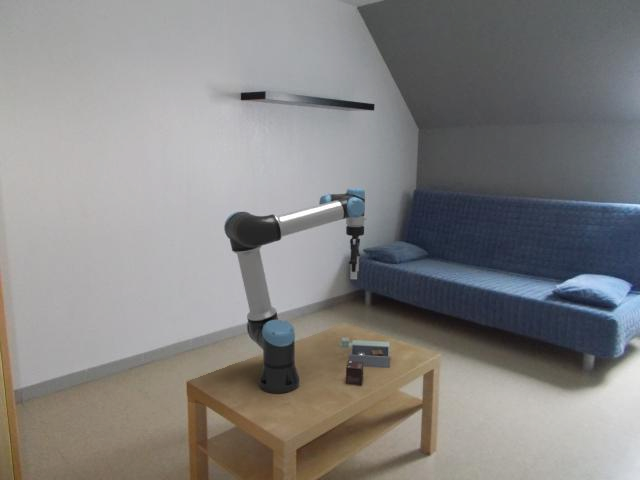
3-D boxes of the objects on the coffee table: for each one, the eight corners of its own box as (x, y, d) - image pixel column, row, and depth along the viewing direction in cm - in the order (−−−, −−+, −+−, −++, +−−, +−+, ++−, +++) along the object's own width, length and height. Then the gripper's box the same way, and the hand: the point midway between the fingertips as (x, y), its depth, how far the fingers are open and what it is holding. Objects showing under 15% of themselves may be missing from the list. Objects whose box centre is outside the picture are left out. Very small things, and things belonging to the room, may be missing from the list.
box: (361, 387, 184) (361, 368, 182) (345, 385, 185) (345, 367, 184) (363, 379, 190) (363, 361, 188) (347, 378, 191) (348, 360, 189)
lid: (338, 351, 216) (338, 344, 215) (341, 341, 227) (341, 334, 226) (389, 354, 213) (390, 346, 212) (389, 344, 224) (389, 336, 224)
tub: (349, 366, 201) (349, 355, 200) (351, 355, 211) (351, 344, 211) (389, 368, 199) (389, 357, 198) (389, 357, 209) (389, 346, 208)
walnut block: (373, 363, 202) (373, 354, 202) (371, 359, 206) (371, 350, 206) (382, 362, 203) (383, 353, 202) (380, 358, 207) (380, 349, 206)
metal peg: (356, 362, 204) (356, 354, 203) (358, 359, 207) (358, 351, 206) (363, 363, 202) (363, 355, 202) (366, 360, 205) (366, 352, 204)
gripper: (363, 230, 193) (362, 283, 197) (365, 221, 218) (364, 268, 221) (343, 230, 194) (343, 282, 198) (348, 221, 218) (347, 267, 222)
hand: (354, 275), depth 210 cm, fingers open, 13 cm apart
